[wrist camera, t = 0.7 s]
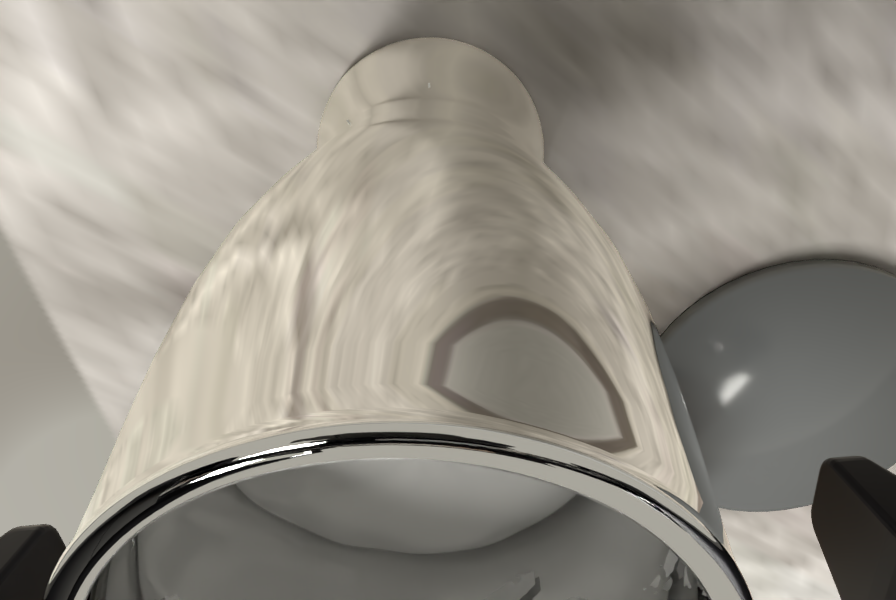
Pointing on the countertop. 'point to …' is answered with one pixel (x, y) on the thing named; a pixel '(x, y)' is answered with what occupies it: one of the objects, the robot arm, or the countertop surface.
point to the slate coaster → (788, 377)
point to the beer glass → (409, 383)
